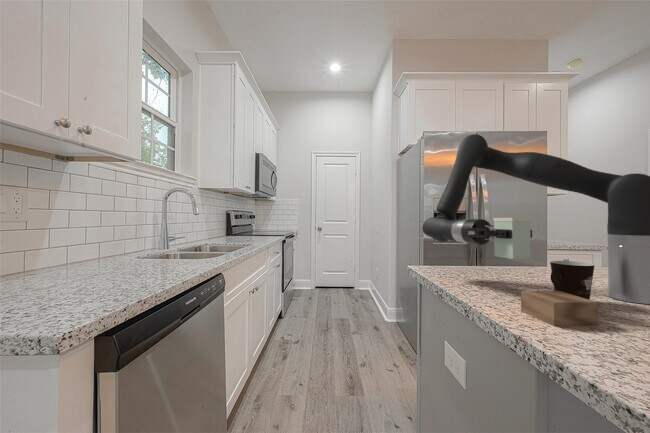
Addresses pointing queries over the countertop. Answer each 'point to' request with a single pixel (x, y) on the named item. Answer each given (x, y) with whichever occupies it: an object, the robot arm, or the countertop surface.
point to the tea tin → (513, 238)
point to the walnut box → (559, 308)
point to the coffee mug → (572, 277)
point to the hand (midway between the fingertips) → (521, 234)
